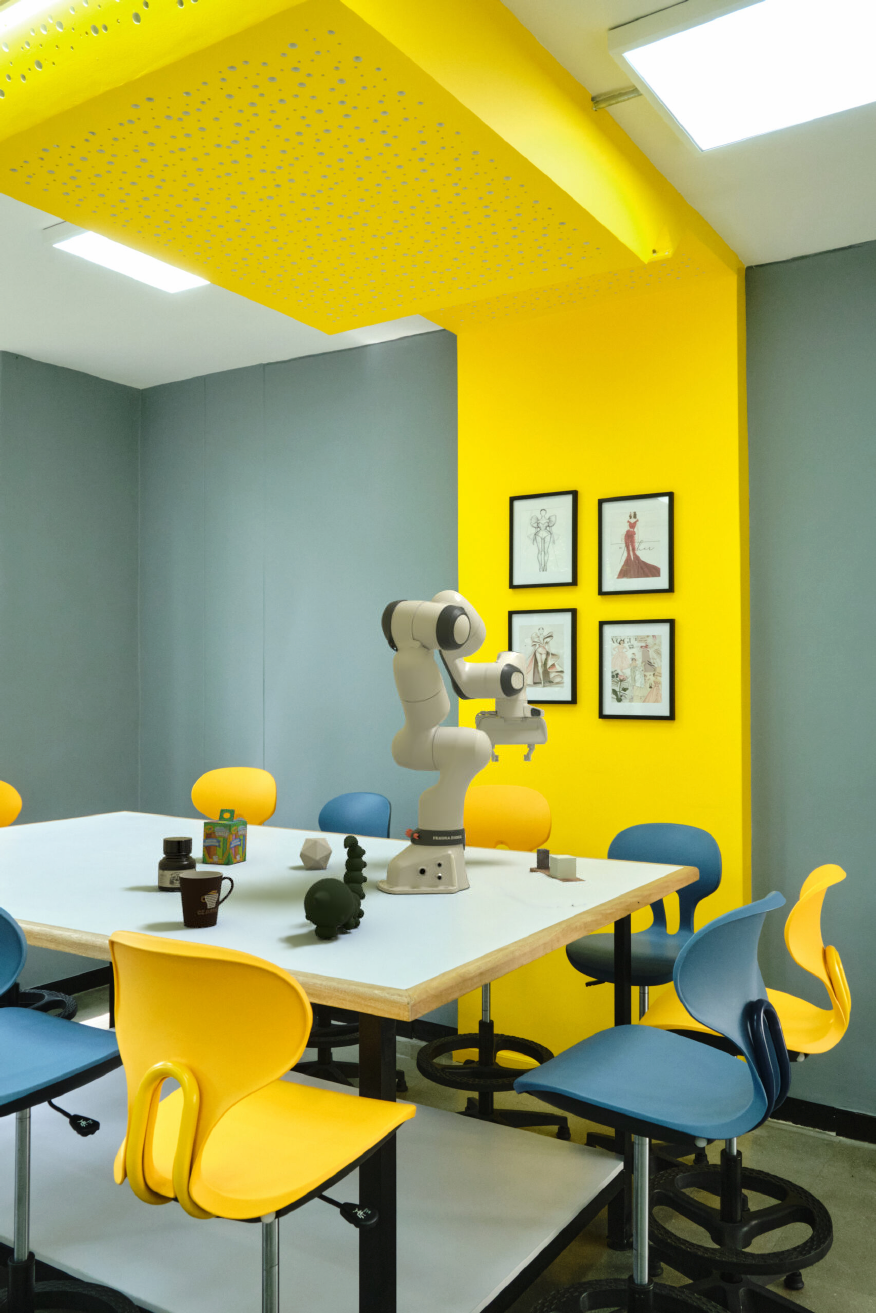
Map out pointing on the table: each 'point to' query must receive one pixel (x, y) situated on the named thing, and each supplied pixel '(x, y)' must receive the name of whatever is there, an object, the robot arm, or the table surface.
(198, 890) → the coffee mug
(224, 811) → the chalk box
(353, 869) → the toy figurine
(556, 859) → the cube
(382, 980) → the table surface
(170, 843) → the ink bottle
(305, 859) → the die
